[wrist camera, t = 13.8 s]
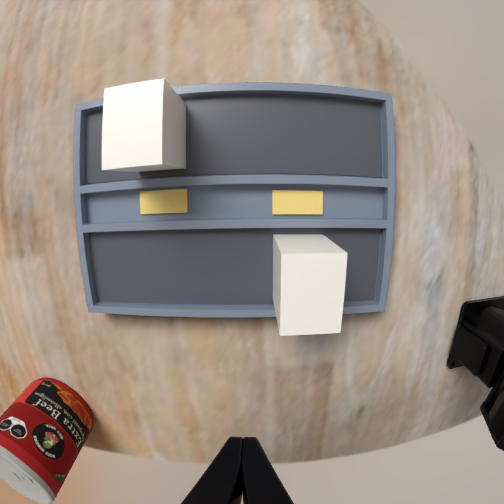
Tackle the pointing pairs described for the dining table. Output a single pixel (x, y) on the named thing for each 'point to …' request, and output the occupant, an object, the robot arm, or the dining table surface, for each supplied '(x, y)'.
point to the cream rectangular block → (143, 128)
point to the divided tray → (239, 200)
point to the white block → (308, 284)
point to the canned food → (42, 438)
